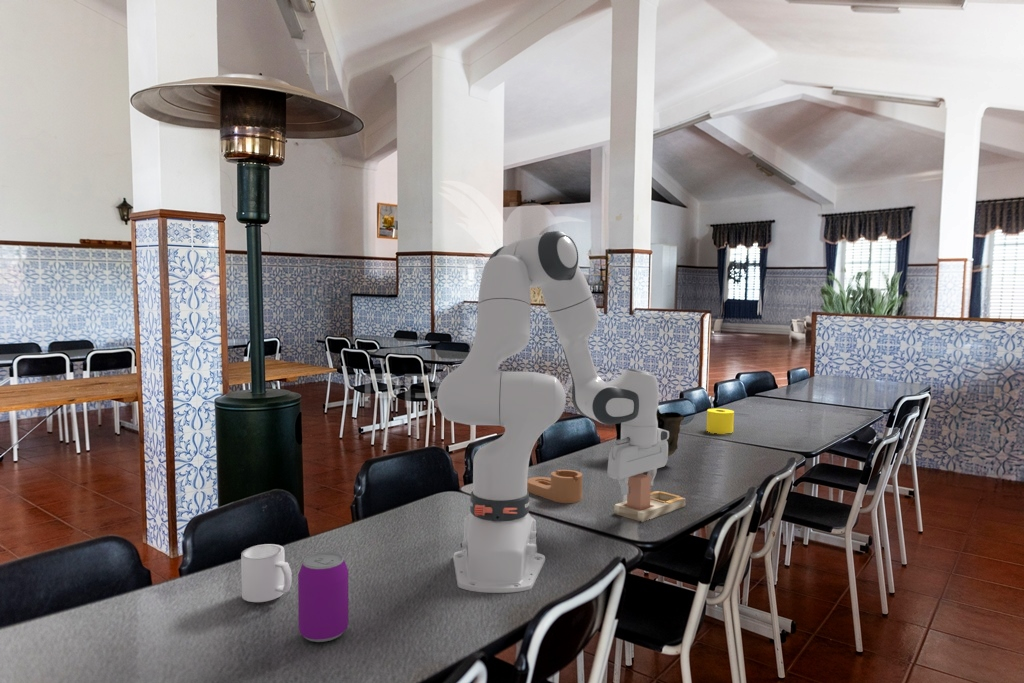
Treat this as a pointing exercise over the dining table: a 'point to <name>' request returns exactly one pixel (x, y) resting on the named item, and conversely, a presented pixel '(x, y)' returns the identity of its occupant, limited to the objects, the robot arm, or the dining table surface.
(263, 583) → the mug
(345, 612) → the beverage can
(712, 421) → the tape roll
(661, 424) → the pottery vessel
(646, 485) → the terracotta peg
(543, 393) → the robot arm
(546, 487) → the bracket
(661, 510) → the peg board
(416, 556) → the dining table surface
